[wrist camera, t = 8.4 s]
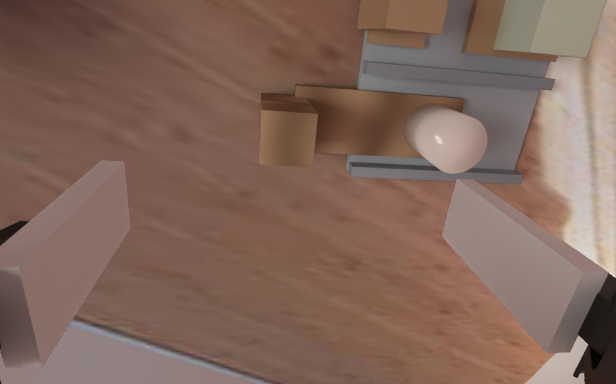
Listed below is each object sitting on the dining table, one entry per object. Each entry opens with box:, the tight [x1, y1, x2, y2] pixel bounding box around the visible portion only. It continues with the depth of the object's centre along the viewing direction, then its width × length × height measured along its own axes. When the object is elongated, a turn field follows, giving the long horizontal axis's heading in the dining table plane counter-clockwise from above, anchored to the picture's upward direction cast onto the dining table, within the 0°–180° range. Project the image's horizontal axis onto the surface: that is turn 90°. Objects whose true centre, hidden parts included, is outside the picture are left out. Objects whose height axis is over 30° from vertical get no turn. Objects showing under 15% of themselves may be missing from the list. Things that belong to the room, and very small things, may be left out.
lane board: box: [346, 0, 557, 184], centre depth 32 cm, size 19×20×9 cm
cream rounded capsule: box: [404, 103, 488, 174], centre depth 33 cm, size 5×5×6 cm
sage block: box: [493, 0, 607, 58], centre depth 31 cm, size 5×5×5 cm
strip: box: [259, 84, 465, 167], centre depth 32 cm, size 19×6×8 cm, turn 85°
